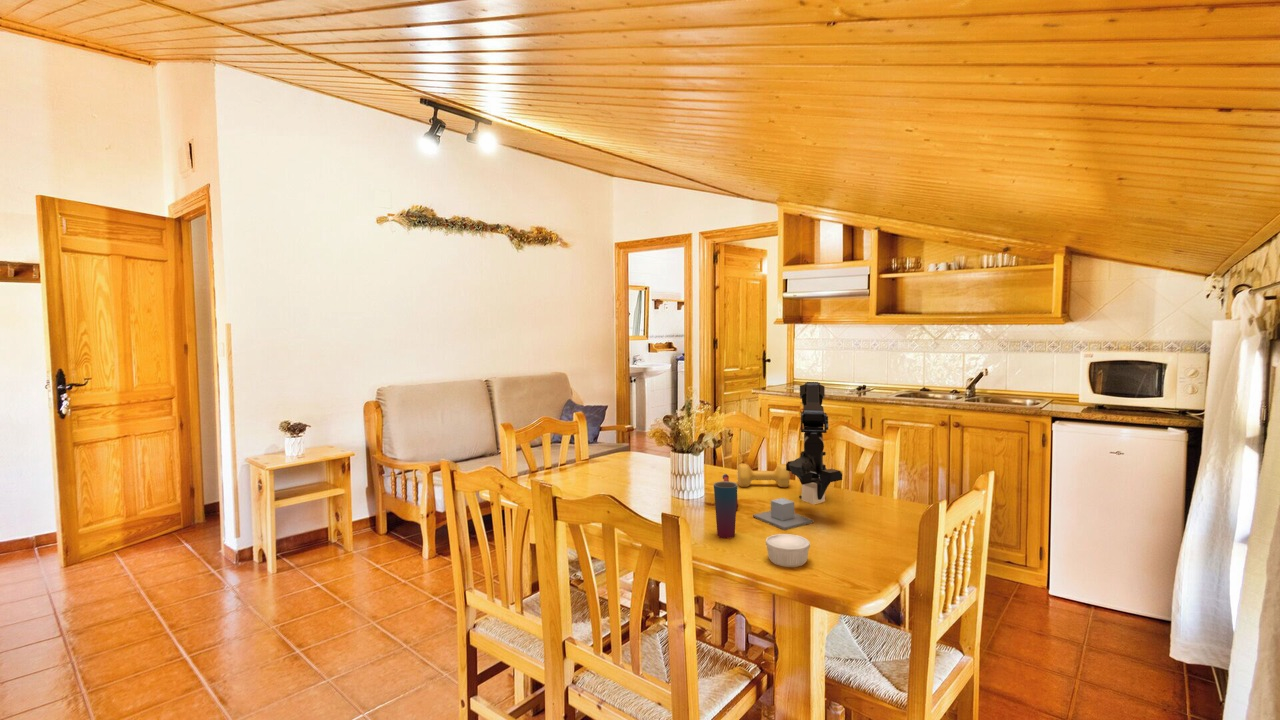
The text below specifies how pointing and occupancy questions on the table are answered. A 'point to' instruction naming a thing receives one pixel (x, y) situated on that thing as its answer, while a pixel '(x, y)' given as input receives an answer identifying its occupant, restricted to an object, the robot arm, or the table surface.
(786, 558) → the ramekin
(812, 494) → the cream block
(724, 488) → the cup
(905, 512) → the table surface
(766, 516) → the baseplate
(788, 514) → the slate block
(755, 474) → the dumbbell
